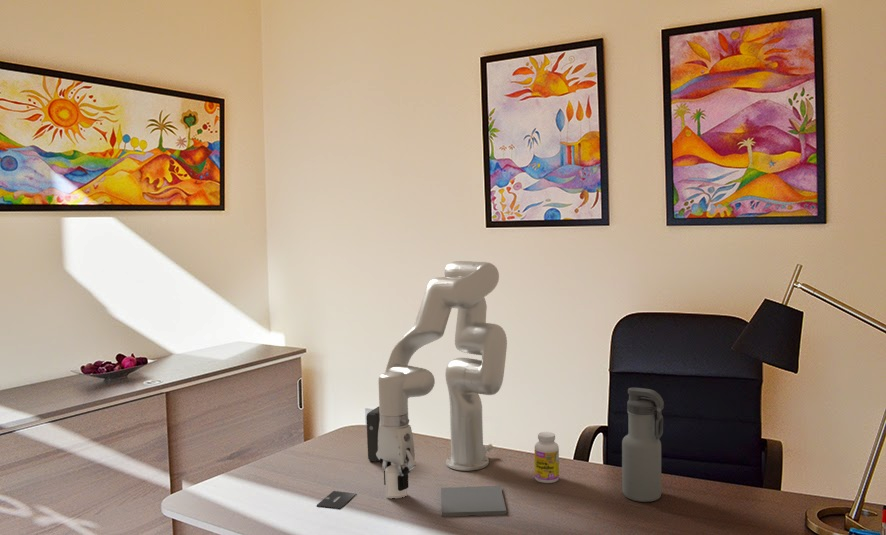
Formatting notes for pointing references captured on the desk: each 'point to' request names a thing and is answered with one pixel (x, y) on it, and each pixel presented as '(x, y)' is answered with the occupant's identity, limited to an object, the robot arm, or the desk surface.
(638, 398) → the water bottle
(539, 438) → the supplement bottle
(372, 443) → the card reader
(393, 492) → the eye dropper bottle
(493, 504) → the charcoal mat
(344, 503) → the solid state drive
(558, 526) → the desk surface
